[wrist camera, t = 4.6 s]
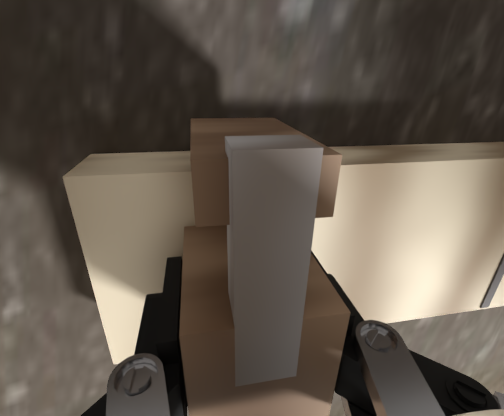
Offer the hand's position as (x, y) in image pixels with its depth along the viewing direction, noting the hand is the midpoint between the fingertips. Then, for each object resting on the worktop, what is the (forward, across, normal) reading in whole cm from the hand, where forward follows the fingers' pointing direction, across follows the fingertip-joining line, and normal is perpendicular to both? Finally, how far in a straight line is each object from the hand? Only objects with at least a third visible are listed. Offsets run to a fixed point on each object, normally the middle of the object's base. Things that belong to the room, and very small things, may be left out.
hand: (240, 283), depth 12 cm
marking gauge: (+1, 0, -2) cm, 2 cm away
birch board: (+4, -6, 0) cm, 7 cm away
